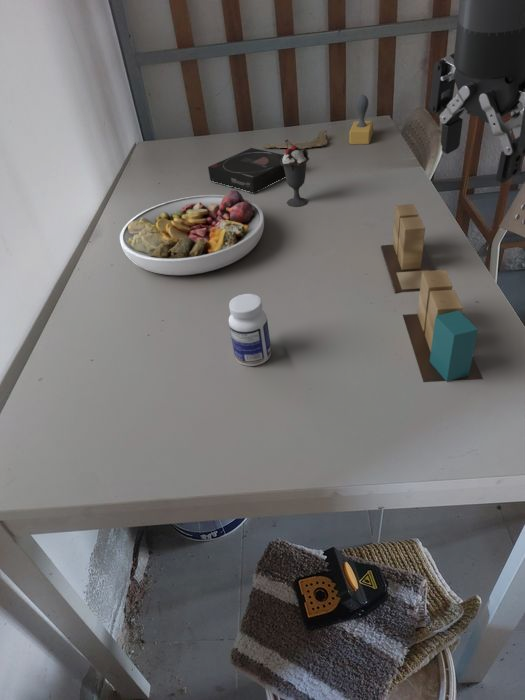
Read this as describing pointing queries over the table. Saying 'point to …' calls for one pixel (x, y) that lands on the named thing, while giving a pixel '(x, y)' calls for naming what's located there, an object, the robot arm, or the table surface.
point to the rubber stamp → (361, 124)
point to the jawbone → (317, 142)
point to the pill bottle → (249, 330)
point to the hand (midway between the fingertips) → (476, 164)
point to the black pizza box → (249, 170)
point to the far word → (407, 250)
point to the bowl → (193, 234)
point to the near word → (433, 322)
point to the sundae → (295, 172)
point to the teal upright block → (453, 345)
